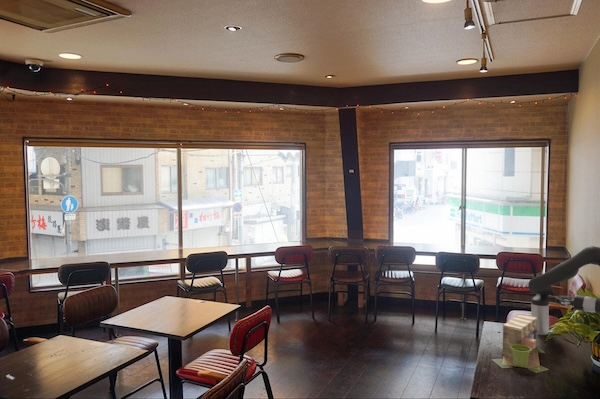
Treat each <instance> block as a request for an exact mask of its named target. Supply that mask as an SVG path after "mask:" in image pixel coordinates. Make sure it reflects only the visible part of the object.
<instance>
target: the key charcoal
mask: <svg viewBox="0 0 600 399" xmlns="http://www.w3.org/2000/svg"><path fill="white" fill-rule="evenodd" d="M532 334H534V339H537V340H538V339H539V335H538V331H537V330H534V331H532Z"/></svg>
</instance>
